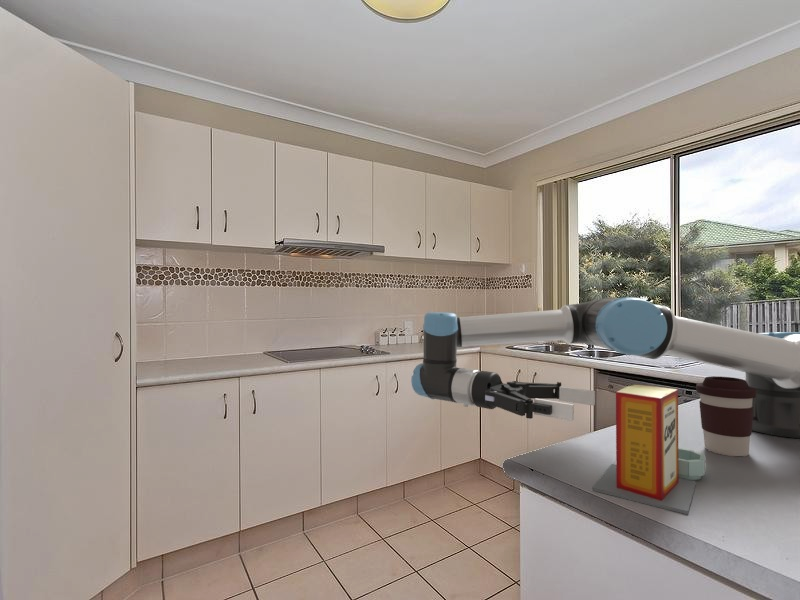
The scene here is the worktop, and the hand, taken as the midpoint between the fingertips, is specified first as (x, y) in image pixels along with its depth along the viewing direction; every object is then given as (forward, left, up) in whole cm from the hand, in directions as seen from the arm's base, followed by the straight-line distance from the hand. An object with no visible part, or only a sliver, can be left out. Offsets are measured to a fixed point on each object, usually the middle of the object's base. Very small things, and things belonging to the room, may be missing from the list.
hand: (584, 405), depth 78 cm
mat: (-10, 0, -12) cm, 16 cm away
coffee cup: (-20, -30, -13) cm, 38 cm away
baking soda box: (-10, 0, -12) cm, 16 cm away
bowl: (-14, -11, -12) cm, 21 cm away
